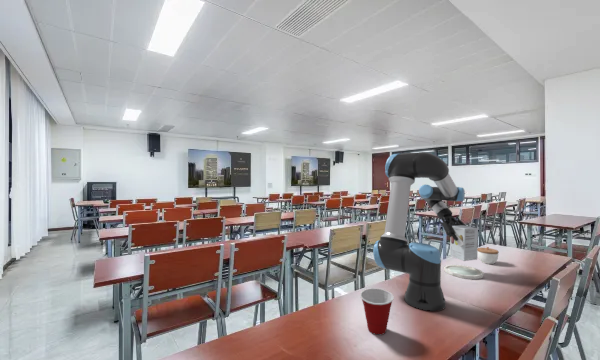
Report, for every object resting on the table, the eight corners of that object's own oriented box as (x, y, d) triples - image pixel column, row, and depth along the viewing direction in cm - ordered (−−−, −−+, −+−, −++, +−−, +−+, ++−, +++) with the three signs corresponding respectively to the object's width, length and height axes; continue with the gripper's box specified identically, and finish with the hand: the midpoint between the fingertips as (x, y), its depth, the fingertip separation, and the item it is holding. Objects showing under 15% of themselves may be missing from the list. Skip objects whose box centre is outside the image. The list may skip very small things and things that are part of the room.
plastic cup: (353, 330, 91) (353, 294, 91) (370, 318, 99) (370, 285, 99) (383, 344, 84) (383, 304, 84) (399, 330, 91) (399, 294, 91)
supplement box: (449, 256, 151) (449, 225, 151) (462, 254, 154) (462, 224, 154) (464, 261, 142) (464, 228, 142) (478, 259, 145) (478, 227, 144)
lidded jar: (498, 266, 158) (498, 250, 158) (476, 263, 165) (476, 247, 165) (498, 262, 167) (498, 246, 167) (477, 259, 173) (477, 244, 173)
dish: (463, 280, 136) (464, 277, 136) (436, 269, 153) (436, 266, 153) (492, 277, 141) (492, 274, 141) (462, 266, 158) (462, 263, 158)
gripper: (450, 214, 166) (477, 245, 152) (424, 216, 157) (450, 250, 142) (459, 206, 162) (487, 238, 147) (432, 208, 152) (460, 242, 138)
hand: (469, 244), depth 145 cm, fingers closed on supplement box, 10 cm apart
